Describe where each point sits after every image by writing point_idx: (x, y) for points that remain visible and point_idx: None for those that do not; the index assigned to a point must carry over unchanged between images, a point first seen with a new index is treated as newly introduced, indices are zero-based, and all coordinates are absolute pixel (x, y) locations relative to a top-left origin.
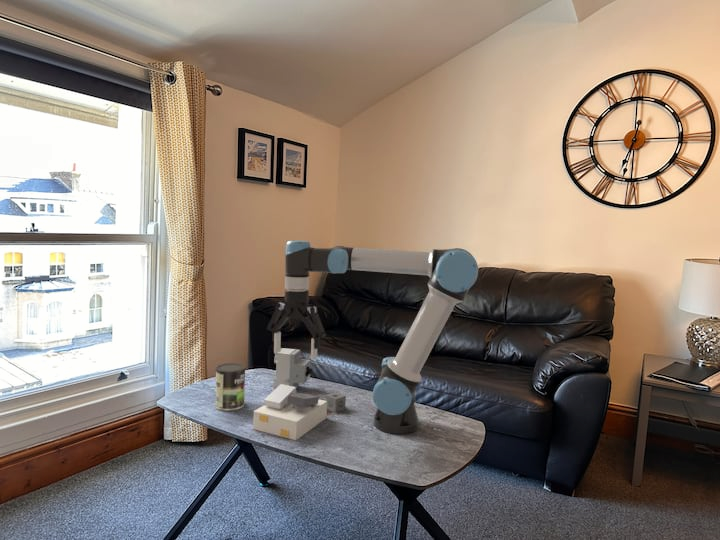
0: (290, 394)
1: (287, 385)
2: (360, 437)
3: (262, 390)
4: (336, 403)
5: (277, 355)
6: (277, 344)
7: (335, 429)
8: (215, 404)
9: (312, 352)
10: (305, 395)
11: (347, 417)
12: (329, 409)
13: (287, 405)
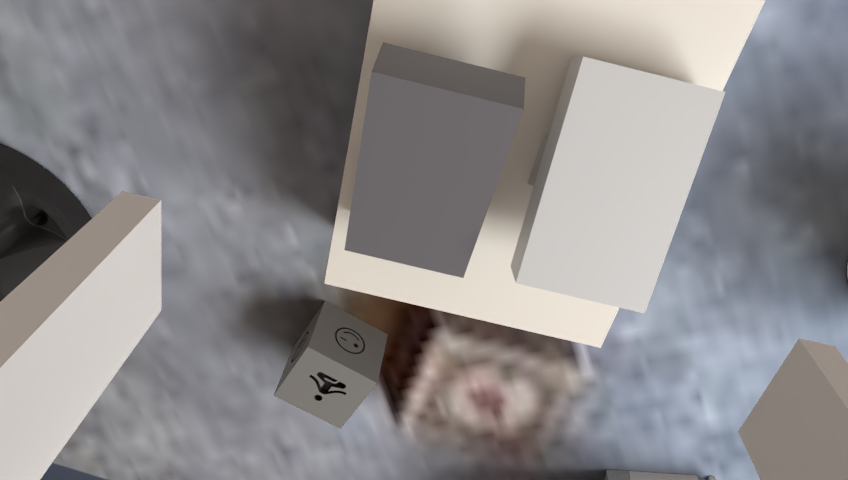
0: (536, 204)
1: (587, 299)
2: (83, 46)
3: None
4: (310, 334)
5: None
6: (844, 478)
7: (246, 107)
8: None
9: (72, 255)
10: (425, 218)
11: (246, 262)
12: (362, 323)
13: (541, 142)
